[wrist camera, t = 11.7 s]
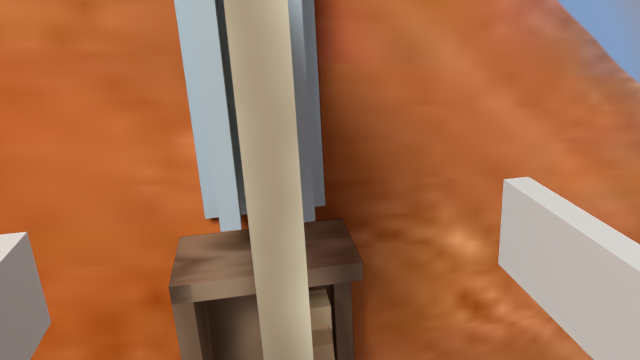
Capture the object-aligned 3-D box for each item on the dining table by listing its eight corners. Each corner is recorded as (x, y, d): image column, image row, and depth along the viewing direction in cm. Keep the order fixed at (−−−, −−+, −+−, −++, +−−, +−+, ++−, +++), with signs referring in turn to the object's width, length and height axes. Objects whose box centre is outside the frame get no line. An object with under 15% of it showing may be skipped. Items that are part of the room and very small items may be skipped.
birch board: (249, 179, 43) (264, 370, 21) (227, -33, 37) (216, -63, 16) (274, 177, 43) (313, 363, 22) (255, -34, 37) (282, -66, 16)
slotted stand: (206, 214, 44) (201, 246, 39) (164, -76, 37) (152, -87, 31) (323, 201, 45) (335, 230, 40) (307, -82, 38) (320, -94, 32)
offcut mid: (277, 401, 48) (279, 422, 45) (266, 297, 44) (268, 314, 41) (331, 393, 48) (336, 413, 46) (325, 289, 44) (330, 305, 42)
